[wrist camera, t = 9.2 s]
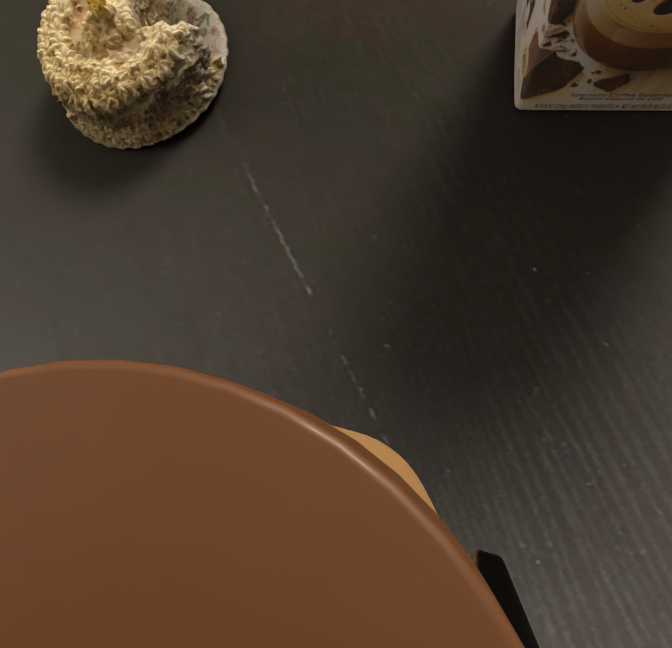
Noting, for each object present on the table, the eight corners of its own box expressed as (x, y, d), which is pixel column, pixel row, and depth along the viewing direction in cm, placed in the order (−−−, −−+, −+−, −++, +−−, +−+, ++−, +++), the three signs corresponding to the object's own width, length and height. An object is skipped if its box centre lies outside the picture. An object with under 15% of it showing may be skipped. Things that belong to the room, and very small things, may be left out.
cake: (137, 192, 27) (66, 139, 22) (37, 86, 30) (-47, 17, 25) (269, 57, 27) (228, -27, 22) (157, -37, 30) (97, -133, 25)
